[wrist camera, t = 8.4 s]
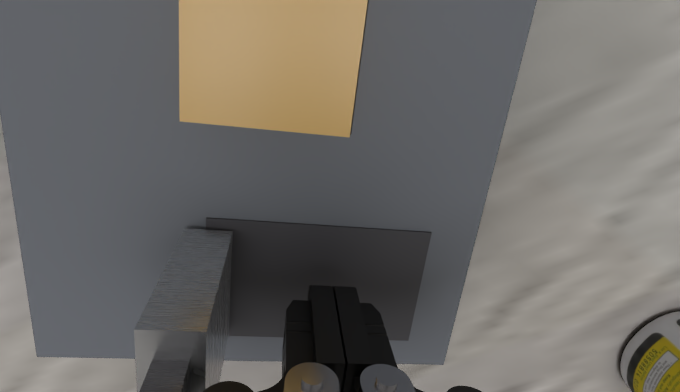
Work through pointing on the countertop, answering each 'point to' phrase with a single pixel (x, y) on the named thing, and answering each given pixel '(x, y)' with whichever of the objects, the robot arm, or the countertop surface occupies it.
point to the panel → (250, 172)
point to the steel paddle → (187, 316)
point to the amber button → (270, 63)
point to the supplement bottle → (654, 356)
